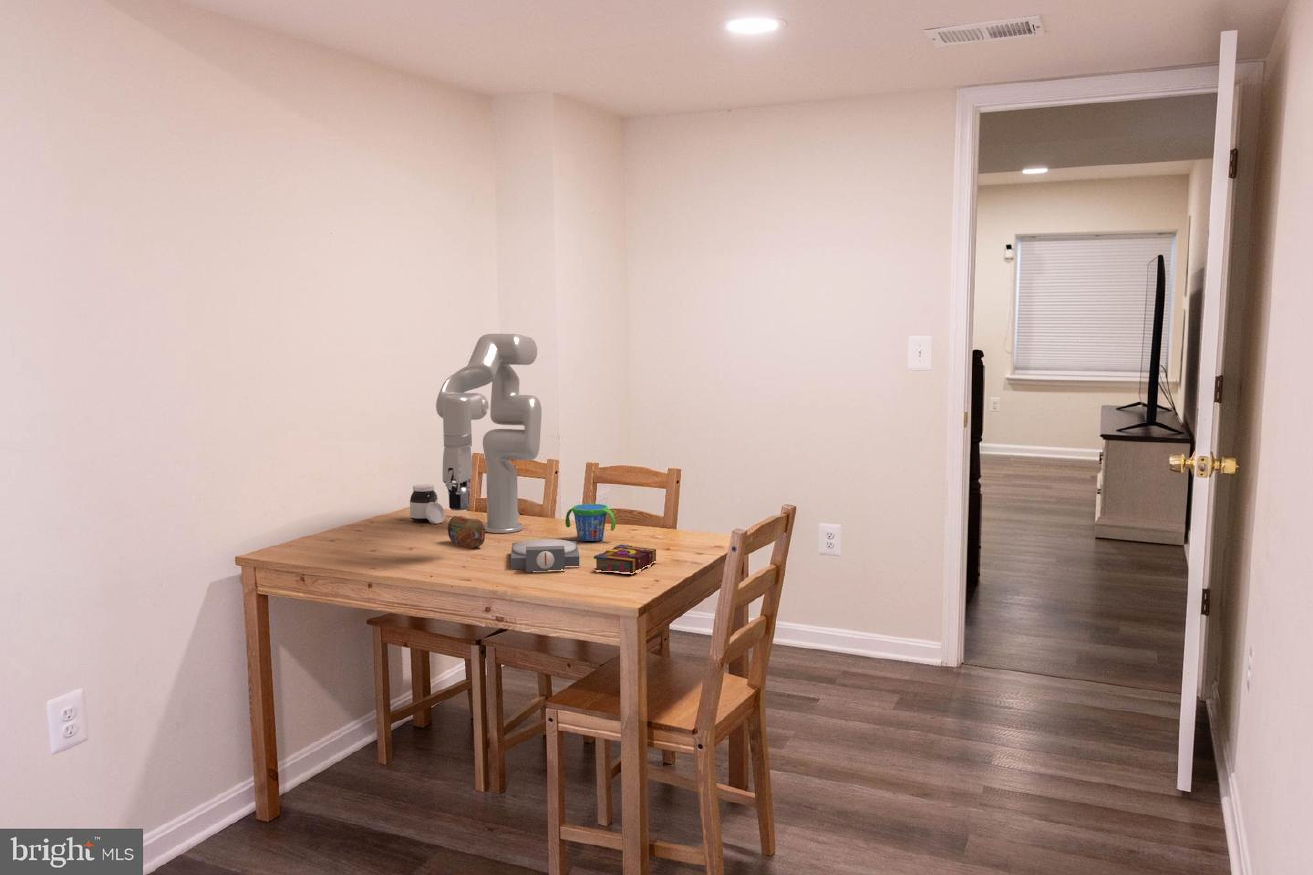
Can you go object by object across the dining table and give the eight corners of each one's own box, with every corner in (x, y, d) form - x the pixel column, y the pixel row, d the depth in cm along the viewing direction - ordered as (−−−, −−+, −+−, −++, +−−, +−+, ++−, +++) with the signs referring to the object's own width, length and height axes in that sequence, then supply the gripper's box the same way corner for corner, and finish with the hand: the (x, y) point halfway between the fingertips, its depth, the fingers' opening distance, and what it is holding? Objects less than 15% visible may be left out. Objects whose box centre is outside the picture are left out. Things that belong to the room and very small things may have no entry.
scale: (512, 553, 277) (511, 532, 277) (576, 551, 280) (576, 530, 279) (510, 573, 255) (510, 550, 255) (580, 571, 258) (580, 549, 257)
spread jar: (418, 517, 328) (418, 482, 326) (451, 518, 326) (450, 483, 325) (404, 524, 316) (403, 488, 315) (438, 525, 314) (437, 489, 313)
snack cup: (558, 540, 294) (558, 507, 292) (577, 534, 303) (577, 501, 302) (604, 546, 286) (603, 511, 285) (621, 539, 296) (621, 506, 295)
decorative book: (657, 564, 266) (657, 546, 266) (630, 578, 252) (630, 559, 251) (619, 560, 271) (619, 542, 270) (591, 573, 257) (591, 554, 256)
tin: (447, 542, 291) (446, 514, 290) (456, 540, 294) (455, 512, 293) (478, 550, 281) (477, 521, 280) (487, 548, 283) (486, 519, 282)
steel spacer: (454, 506, 275) (454, 485, 274) (471, 507, 274) (471, 485, 273) (447, 509, 270) (446, 488, 269) (464, 510, 269) (463, 489, 268)
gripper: (457, 436, 278) (459, 499, 281) (431, 444, 262) (433, 512, 264) (482, 437, 277) (484, 501, 279) (457, 445, 260) (459, 513, 263)
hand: (459, 505), depth 272 cm, fingers closed on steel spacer, 5 cm apart
